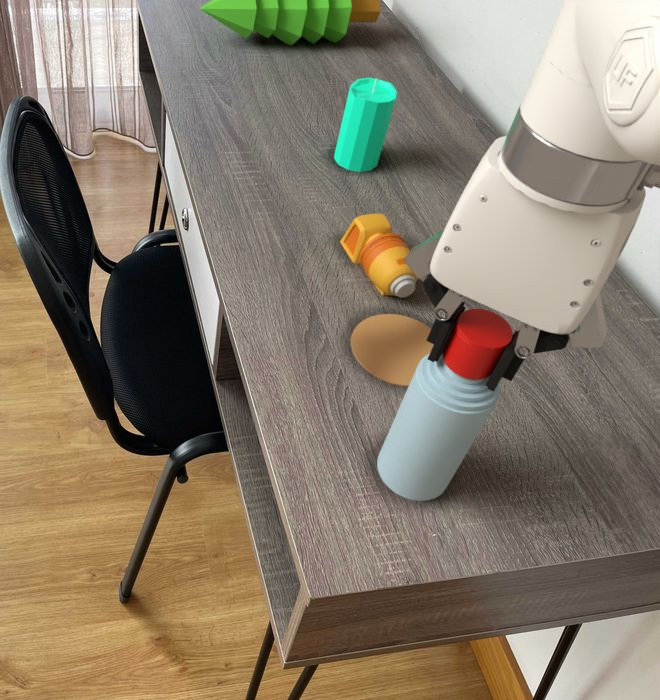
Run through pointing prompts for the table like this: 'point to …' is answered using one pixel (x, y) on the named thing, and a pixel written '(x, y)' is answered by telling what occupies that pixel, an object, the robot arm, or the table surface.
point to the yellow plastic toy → (380, 254)
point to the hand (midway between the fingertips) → (467, 362)
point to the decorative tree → (293, 17)
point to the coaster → (391, 346)
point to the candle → (365, 124)
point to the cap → (477, 343)
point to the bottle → (433, 430)
